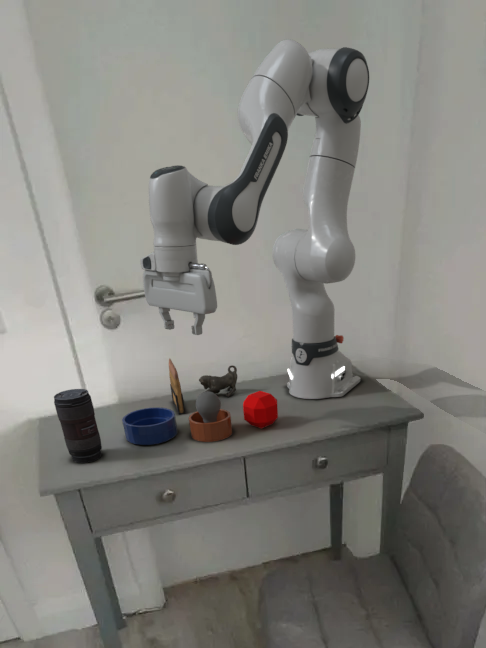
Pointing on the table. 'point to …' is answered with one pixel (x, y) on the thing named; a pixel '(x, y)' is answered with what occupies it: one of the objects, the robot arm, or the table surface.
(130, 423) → the blue bowl
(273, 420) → the ball
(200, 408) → the light bulb
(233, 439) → the table surface
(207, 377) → the dog figurine
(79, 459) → the camera lens
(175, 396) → the ammunition clip
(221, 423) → the terracotta dish
